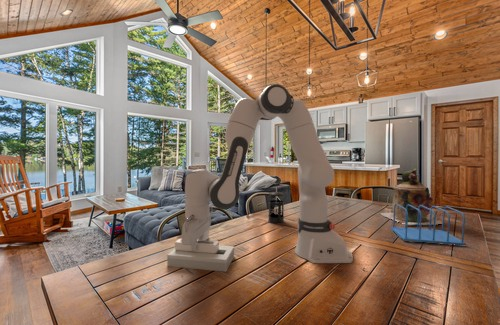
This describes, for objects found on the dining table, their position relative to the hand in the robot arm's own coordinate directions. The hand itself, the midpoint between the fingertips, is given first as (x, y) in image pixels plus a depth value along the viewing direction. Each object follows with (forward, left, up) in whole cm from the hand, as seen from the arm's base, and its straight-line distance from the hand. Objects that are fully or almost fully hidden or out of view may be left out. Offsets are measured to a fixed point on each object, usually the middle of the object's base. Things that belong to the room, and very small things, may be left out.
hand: (197, 247), depth 92 cm
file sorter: (-100, -45, -6) cm, 110 cm away
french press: (-26, -58, -5) cm, 64 cm away
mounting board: (-2, 0, -5) cm, 5 cm away
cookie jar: (-108, -77, -5) cm, 132 cm away
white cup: (+7, -22, -5) cm, 24 cm away
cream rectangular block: (0, 0, -3) cm, 3 cm away
